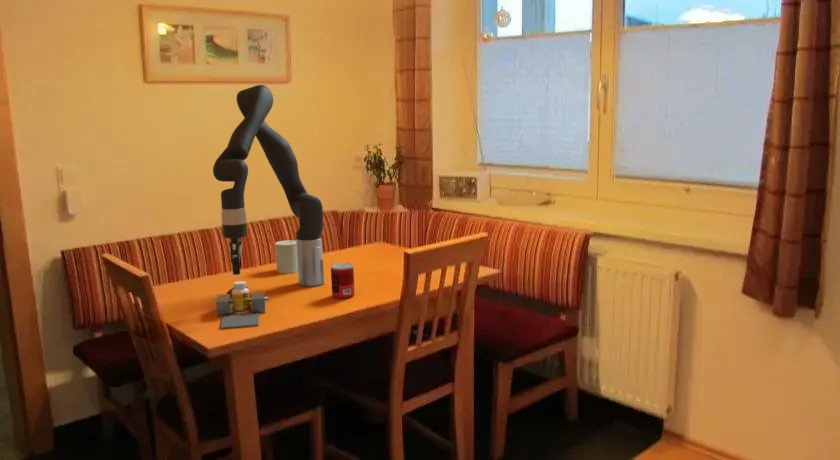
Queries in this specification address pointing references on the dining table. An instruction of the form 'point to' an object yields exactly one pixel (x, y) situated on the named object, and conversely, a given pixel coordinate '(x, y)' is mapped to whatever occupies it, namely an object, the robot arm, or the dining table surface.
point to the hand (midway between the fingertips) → (237, 271)
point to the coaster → (239, 321)
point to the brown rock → (231, 291)
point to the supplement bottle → (240, 298)
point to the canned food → (342, 280)
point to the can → (286, 256)
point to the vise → (226, 303)
